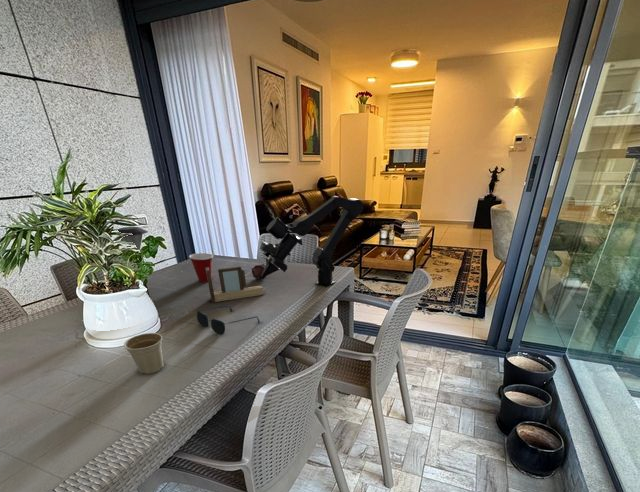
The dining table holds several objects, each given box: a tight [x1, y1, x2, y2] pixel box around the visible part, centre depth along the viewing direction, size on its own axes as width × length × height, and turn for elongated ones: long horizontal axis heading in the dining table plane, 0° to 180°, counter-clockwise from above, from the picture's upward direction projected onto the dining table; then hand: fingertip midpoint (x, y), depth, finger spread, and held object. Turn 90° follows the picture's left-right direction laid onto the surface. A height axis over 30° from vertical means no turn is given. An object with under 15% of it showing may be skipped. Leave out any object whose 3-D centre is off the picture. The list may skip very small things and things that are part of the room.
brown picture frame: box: [217, 266, 247, 293], centre depth 143 cm, size 10×2×11 cm, turn 111°
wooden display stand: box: [205, 267, 265, 303], centre depth 144 cm, size 21×5×13 cm, turn 111°
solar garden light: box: [117, 226, 151, 298], centre depth 132 cm, size 12×12×30 cm
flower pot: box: [123, 332, 164, 375], centre depth 95 cm, size 9×9×9 cm
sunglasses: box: [196, 304, 260, 336], centre depth 122 cm, size 17×15×5 cm
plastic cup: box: [188, 252, 214, 283], centre depth 166 cm, size 11×11×12 cm
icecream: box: [251, 263, 266, 281], centre depth 166 cm, size 7×7×15 cm
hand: (262, 276), depth 147 cm, fingers closed
